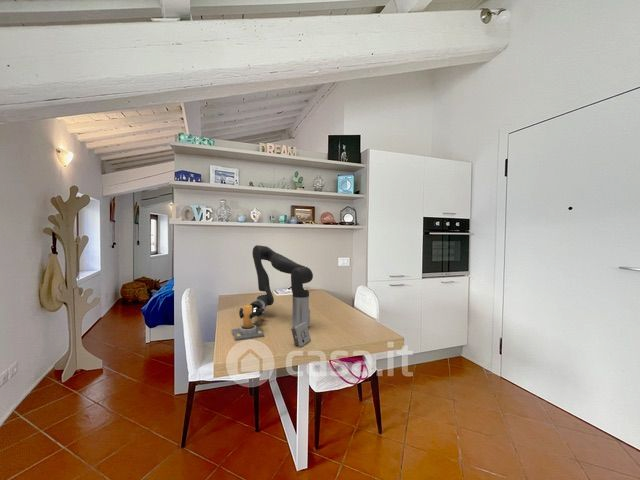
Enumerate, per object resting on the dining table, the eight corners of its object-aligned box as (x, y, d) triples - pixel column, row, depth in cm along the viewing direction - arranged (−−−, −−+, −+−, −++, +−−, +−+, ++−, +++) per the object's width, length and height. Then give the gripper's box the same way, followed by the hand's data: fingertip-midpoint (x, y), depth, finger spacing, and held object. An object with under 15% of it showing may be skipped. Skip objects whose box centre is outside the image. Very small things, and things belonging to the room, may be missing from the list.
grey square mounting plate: (258, 327, 150) (258, 321, 150) (264, 336, 137) (264, 329, 137) (231, 331, 144) (231, 324, 144) (235, 340, 131) (235, 333, 131)
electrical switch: (300, 347, 124) (299, 327, 124) (291, 346, 127) (290, 326, 127) (311, 341, 132) (309, 321, 133) (302, 340, 135) (300, 321, 135)
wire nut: (251, 325, 144) (251, 304, 143) (252, 327, 140) (252, 306, 139) (242, 326, 142) (242, 305, 141) (243, 328, 138) (244, 307, 137)
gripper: (244, 300, 155) (232, 308, 138) (269, 301, 154) (259, 309, 137) (244, 313, 155) (232, 323, 138) (268, 314, 154) (259, 324, 137)
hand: (245, 316), depth 138 cm, fingers closed on wire nut, 4 cm apart
